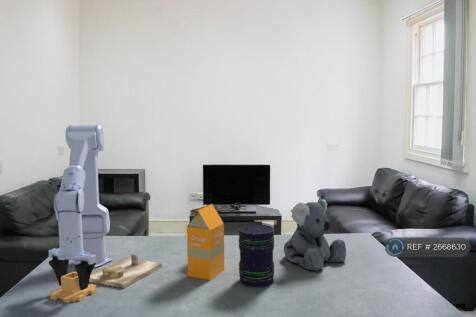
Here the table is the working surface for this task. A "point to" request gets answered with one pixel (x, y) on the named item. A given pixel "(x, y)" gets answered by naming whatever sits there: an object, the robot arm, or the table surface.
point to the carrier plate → (124, 272)
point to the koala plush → (312, 238)
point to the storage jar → (256, 255)
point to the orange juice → (205, 244)
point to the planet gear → (71, 289)
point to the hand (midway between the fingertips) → (73, 286)
